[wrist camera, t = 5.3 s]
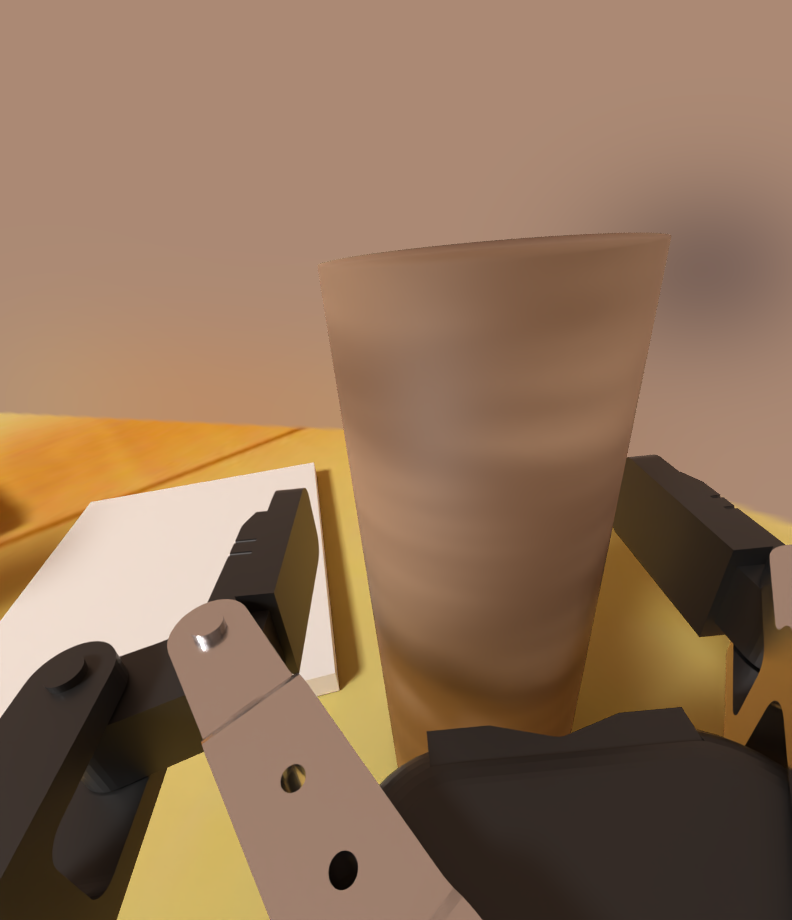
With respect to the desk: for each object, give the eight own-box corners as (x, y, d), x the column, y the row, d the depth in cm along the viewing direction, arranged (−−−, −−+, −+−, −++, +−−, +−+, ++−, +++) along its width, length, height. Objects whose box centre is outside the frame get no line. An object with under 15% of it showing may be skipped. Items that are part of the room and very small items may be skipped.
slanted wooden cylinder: (513, 658, 16) (545, 234, 9) (597, 816, 11) (780, 230, 5) (382, 692, 15) (310, 259, 8) (420, 877, 11) (332, 280, 4)
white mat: (316, 475, 29) (313, 462, 29) (339, 690, 15) (335, 673, 15) (97, 515, 27) (90, 502, 26) (-108, 807, 13) (-130, 790, 13)
